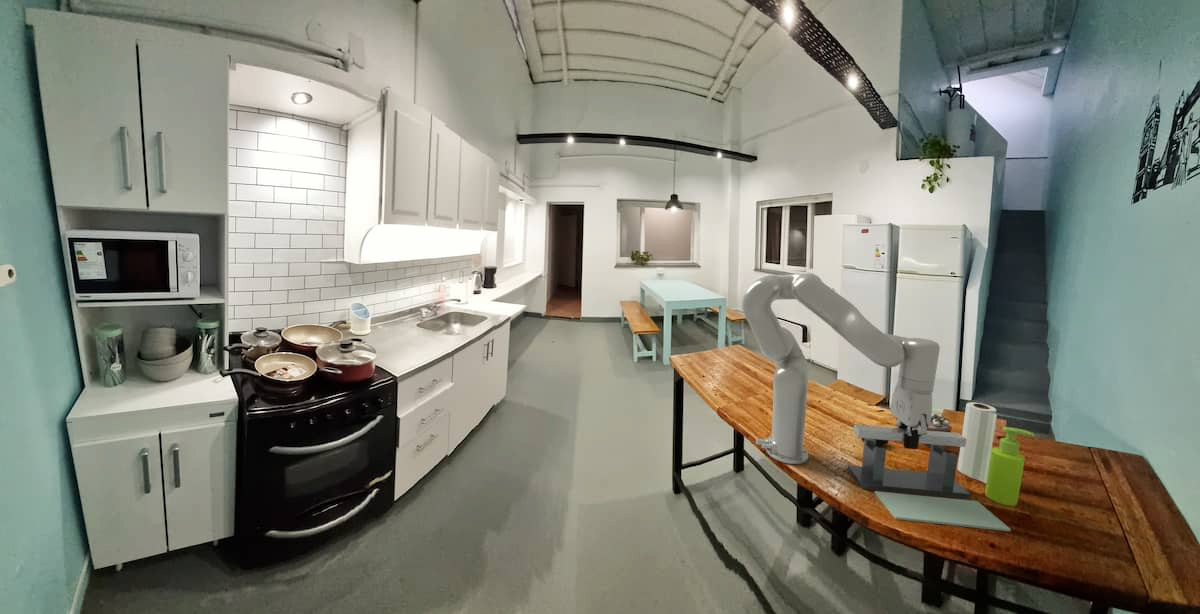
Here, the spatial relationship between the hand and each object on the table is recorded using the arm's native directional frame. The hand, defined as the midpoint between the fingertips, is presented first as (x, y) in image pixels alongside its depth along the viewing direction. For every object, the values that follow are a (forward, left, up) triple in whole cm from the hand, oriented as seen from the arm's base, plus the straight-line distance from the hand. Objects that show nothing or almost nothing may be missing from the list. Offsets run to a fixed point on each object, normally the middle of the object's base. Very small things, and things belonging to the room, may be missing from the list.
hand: (906, 444), depth 104 cm
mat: (+2, -11, -12) cm, 17 cm away
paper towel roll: (+22, +8, -12) cm, 26 cm away
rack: (+1, 0, -12) cm, 12 cm away
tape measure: (+3, +23, -12) cm, 27 cm away
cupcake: (+22, +26, -12) cm, 36 cm away
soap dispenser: (+22, -3, -12) cm, 25 cm away
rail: (0, 0, +1) cm, 1 cm away
